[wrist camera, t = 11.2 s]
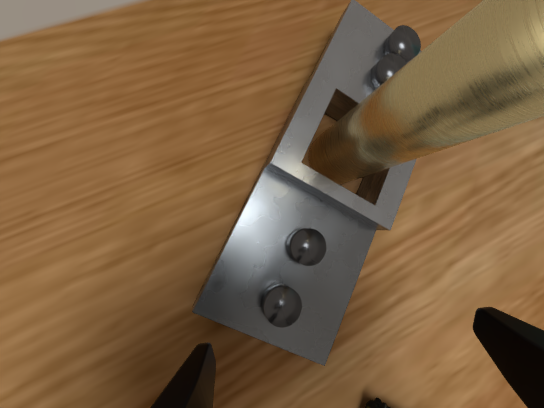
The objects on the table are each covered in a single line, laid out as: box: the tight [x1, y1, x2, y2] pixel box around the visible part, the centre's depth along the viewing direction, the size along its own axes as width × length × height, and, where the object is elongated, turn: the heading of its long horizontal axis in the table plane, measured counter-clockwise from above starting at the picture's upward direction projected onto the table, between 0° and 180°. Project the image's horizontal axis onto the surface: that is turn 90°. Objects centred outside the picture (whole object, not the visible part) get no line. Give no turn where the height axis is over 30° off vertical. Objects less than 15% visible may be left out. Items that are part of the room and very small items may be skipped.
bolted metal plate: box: [192, 0, 422, 366], centre depth 18 cm, size 24×10×4 cm, turn 154°
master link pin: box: [309, 0, 544, 184], centre depth 13 cm, size 4×4×14 cm
